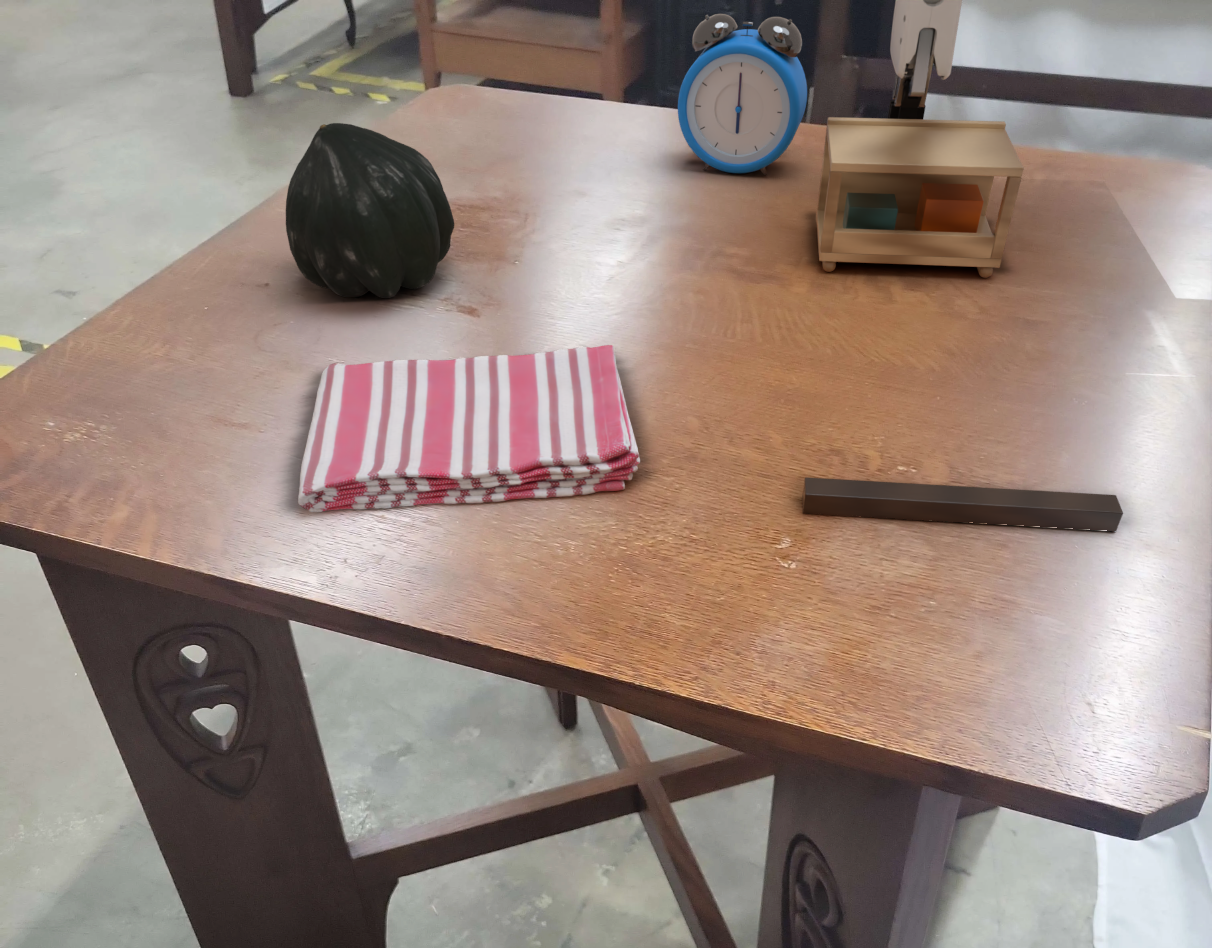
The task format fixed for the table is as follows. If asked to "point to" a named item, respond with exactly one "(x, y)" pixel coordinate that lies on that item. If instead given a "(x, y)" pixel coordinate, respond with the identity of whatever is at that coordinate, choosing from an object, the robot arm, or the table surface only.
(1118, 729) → the table surface
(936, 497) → the edge strip
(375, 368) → the dish towel
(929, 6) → the robot arm
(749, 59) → the alarm clock
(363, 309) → the table surface
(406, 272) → the squash
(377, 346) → the table surface
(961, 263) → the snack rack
